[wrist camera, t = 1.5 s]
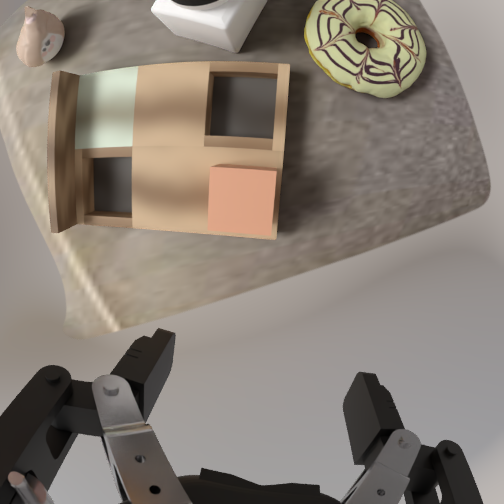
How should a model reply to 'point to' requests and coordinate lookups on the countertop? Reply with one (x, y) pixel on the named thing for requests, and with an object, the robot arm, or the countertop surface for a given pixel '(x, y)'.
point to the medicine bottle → (210, 20)
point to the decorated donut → (358, 55)
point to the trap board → (160, 141)
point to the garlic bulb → (39, 37)
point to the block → (241, 199)
